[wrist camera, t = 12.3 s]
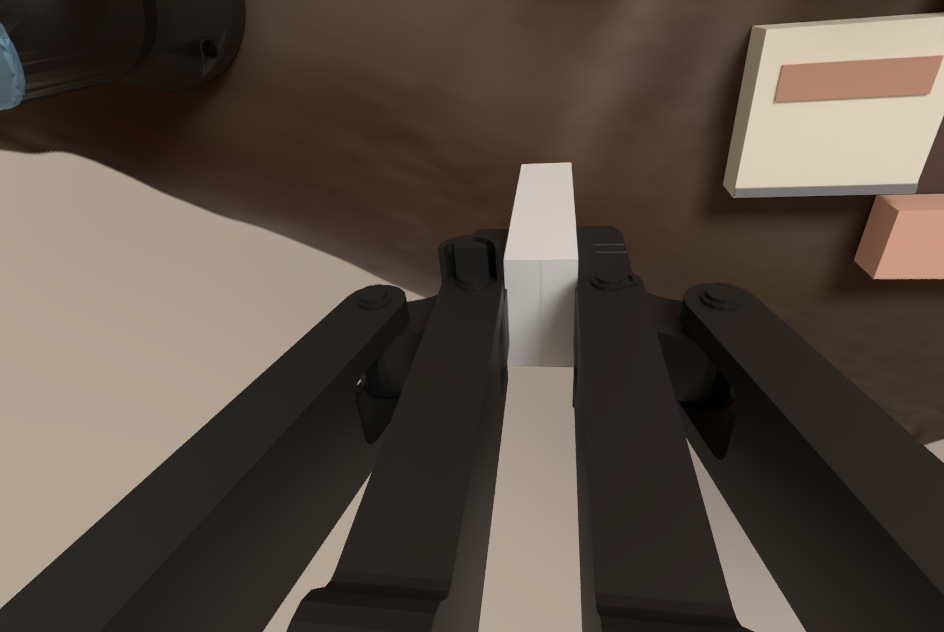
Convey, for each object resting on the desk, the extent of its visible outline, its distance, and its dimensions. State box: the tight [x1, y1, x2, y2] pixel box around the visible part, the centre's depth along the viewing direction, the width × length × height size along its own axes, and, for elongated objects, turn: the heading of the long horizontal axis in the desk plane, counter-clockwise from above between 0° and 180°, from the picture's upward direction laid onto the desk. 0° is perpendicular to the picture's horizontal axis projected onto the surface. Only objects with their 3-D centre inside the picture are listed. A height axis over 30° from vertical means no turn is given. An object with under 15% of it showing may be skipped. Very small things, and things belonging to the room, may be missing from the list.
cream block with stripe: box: [723, 12, 944, 198], centre depth 39 cm, size 13×12×3 cm
